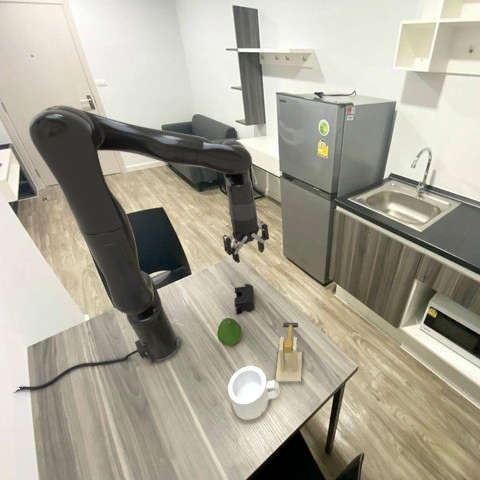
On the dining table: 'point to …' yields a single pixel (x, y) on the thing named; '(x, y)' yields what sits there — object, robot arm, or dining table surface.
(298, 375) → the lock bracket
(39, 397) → the dining table surface
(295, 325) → the lever
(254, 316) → the dining table surface
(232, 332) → the avocado
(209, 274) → the dining table surface
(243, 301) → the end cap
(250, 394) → the mug
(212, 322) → the dining table surface
